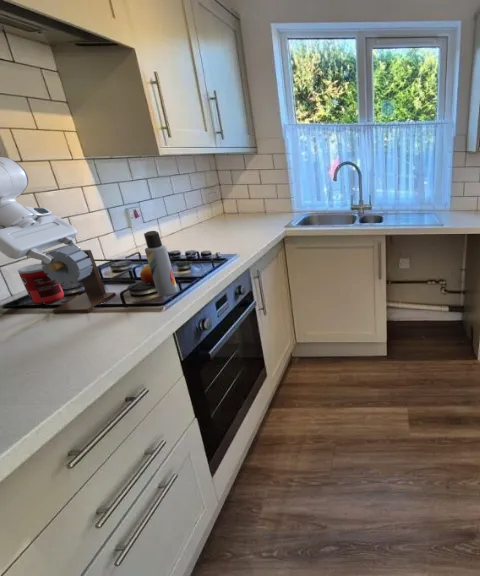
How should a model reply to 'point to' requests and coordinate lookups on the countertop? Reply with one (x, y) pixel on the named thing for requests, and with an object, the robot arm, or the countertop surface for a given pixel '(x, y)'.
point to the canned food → (40, 285)
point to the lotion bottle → (160, 264)
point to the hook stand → (92, 287)
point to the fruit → (147, 275)
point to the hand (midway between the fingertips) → (65, 255)
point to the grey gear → (69, 265)
